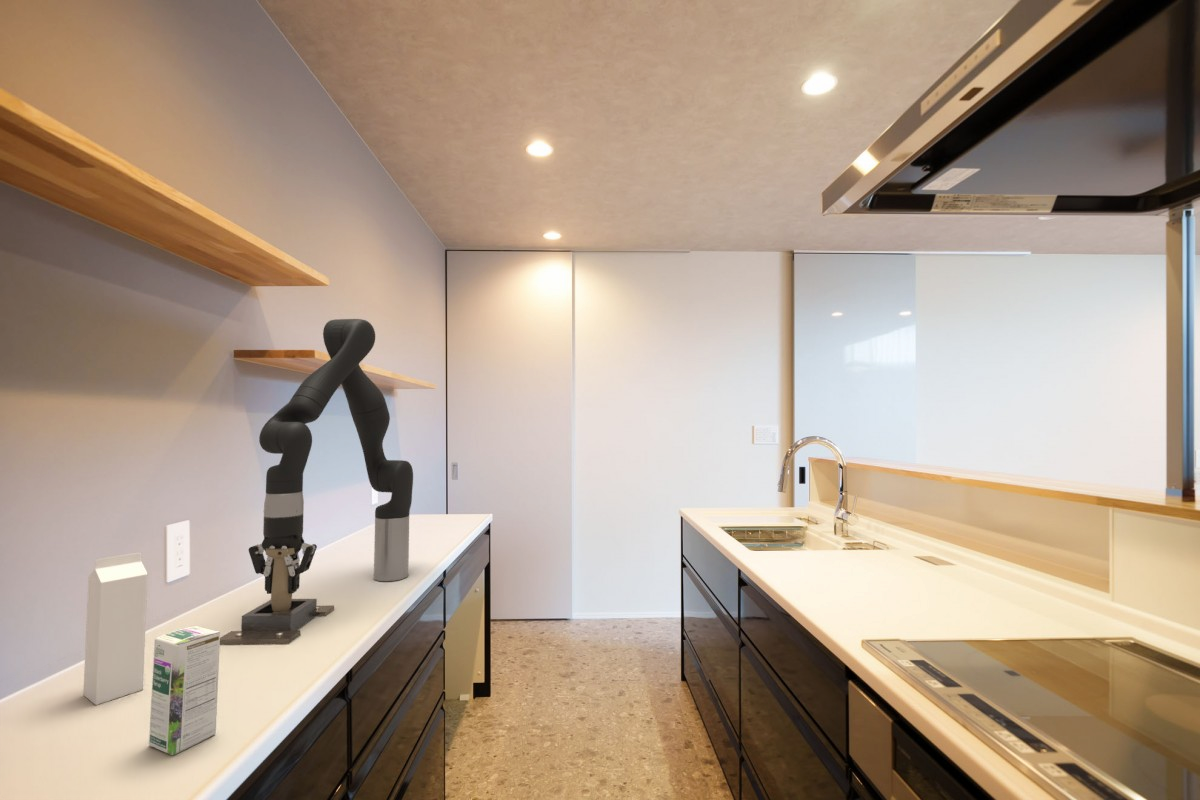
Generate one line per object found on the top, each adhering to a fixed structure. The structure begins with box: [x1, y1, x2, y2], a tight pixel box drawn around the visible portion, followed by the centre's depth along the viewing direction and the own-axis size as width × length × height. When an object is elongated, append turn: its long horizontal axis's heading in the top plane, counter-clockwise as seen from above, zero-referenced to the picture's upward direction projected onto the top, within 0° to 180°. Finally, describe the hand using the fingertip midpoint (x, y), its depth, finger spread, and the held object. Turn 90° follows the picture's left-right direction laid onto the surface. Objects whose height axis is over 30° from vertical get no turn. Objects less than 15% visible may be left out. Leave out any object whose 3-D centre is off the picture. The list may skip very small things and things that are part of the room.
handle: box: [265, 548, 300, 613], centre depth 118 cm, size 5×6×15 cm
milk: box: [82, 552, 149, 706], centre depth 89 cm, size 6×6×22 cm
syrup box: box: [148, 625, 221, 756], centre depth 76 cm, size 6×6×14 cm
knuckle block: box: [220, 598, 335, 646], centre depth 118 cm, size 20×14×4 cm
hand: (281, 592), depth 118 cm, fingers closed on handle, 4 cm apart
